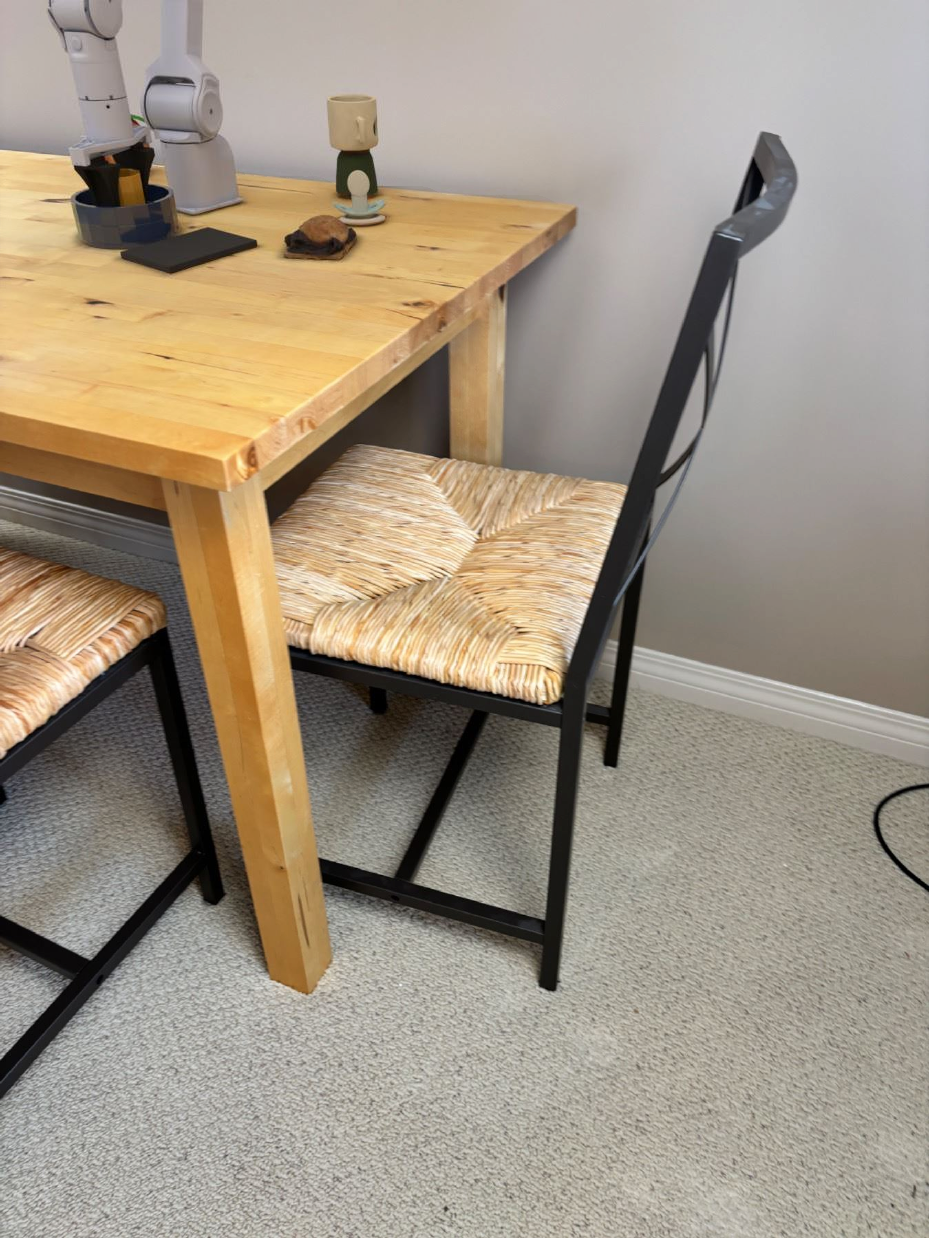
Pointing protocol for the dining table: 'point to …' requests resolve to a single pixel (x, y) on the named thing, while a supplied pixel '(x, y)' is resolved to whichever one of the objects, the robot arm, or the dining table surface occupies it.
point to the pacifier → (360, 202)
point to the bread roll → (320, 239)
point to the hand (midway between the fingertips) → (126, 214)
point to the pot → (126, 220)
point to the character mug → (353, 137)
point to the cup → (130, 187)
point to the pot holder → (188, 249)
